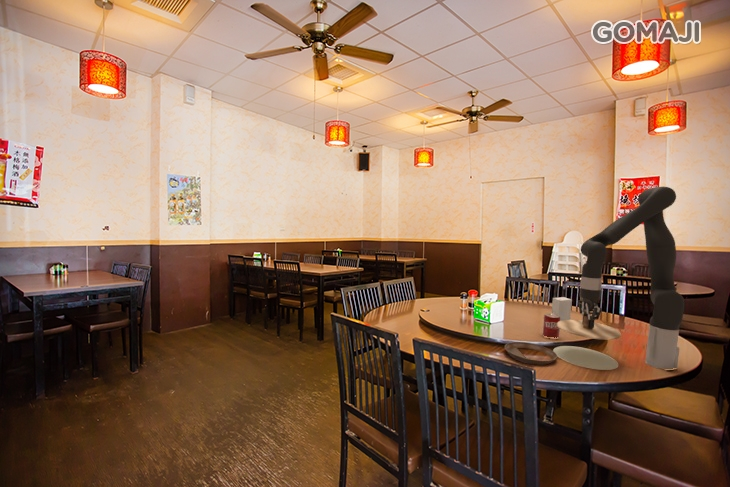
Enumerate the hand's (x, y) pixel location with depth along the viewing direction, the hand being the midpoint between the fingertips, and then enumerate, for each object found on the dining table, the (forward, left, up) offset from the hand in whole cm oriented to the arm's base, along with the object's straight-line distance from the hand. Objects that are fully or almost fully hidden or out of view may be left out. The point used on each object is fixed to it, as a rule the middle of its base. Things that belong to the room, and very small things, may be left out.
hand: (587, 326), depth 145 cm
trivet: (0, 0, -15) cm, 15 cm away
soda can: (+4, -23, -15) cm, 28 cm away
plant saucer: (+24, +2, -15) cm, 29 cm away
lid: (0, 0, -2) cm, 2 cm away
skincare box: (-13, -49, -15) cm, 53 cm away
